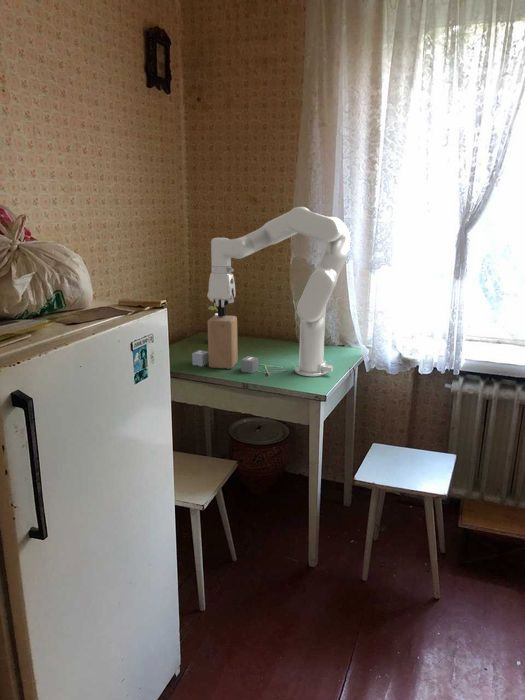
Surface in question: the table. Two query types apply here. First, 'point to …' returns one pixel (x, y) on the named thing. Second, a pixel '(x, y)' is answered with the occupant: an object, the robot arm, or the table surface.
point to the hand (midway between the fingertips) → (221, 316)
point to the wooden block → (222, 342)
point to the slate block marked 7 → (200, 358)
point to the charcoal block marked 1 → (250, 364)
